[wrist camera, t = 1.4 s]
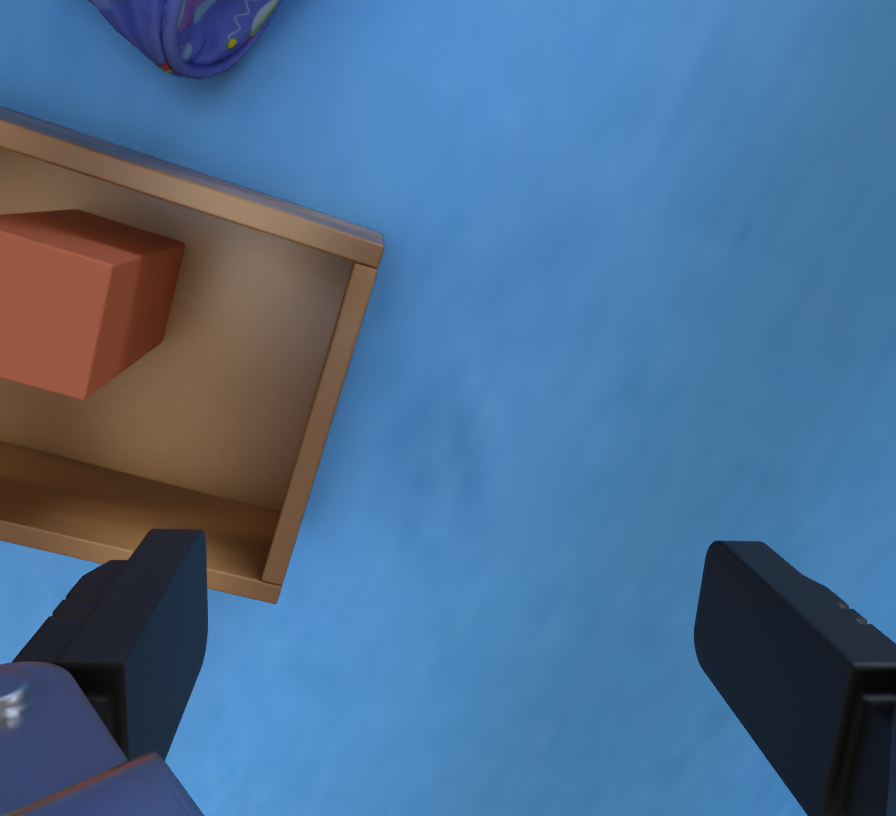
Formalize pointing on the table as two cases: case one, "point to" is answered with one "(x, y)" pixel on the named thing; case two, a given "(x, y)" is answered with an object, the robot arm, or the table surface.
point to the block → (80, 298)
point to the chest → (187, 368)
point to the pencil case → (190, 31)
